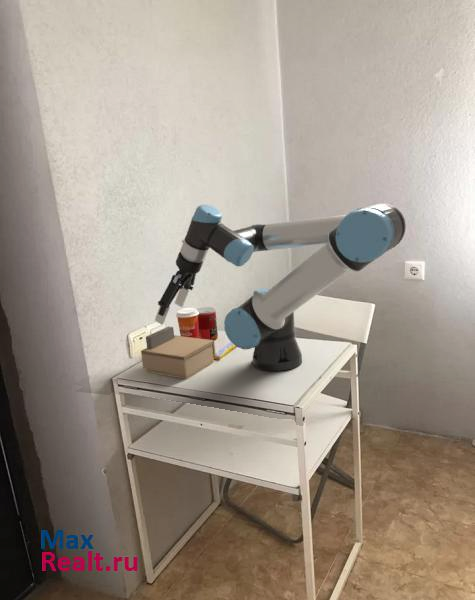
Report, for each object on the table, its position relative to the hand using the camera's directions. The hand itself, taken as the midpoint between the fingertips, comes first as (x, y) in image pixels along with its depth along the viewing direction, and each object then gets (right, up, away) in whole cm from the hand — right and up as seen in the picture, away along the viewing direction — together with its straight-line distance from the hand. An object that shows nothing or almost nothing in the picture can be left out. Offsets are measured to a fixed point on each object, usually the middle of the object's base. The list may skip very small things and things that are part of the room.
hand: (169, 313), depth 159 cm
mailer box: (+3, -17, +2) cm, 17 cm away
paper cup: (+5, -13, +18) cm, 23 cm away
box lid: (+3, -16, +2) cm, 16 cm away
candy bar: (+17, -14, +13) cm, 26 cm away
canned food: (+10, -10, +28) cm, 31 cm away
